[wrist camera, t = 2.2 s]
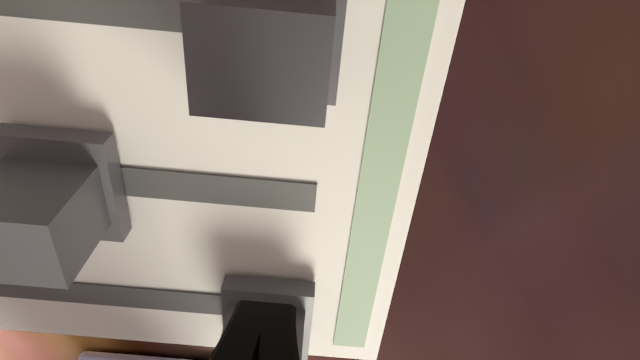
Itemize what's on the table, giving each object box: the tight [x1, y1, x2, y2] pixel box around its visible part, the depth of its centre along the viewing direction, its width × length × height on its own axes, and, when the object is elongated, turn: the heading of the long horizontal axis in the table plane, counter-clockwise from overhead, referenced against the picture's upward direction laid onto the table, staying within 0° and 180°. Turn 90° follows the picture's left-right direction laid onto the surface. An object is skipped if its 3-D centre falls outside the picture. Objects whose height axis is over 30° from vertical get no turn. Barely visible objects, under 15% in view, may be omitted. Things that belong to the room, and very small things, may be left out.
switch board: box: [0, 0, 465, 360], centre depth 16 cm, size 18×26×2 cm
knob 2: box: [221, 274, 315, 360], centre depth 18 cm, size 4×4×4 cm
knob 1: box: [180, 0, 347, 128], centre depth 11 cm, size 4×4×4 cm
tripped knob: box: [0, 123, 132, 289], centre depth 14 cm, size 4×4×4 cm
